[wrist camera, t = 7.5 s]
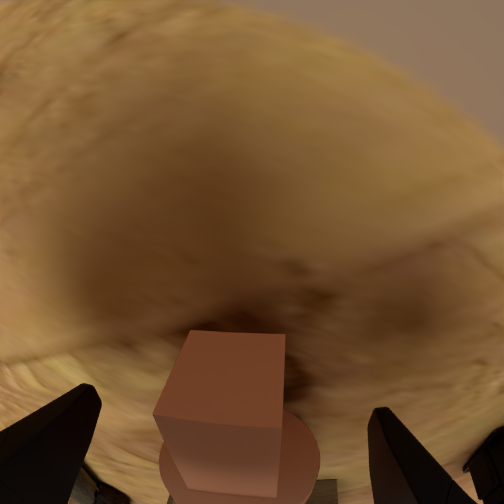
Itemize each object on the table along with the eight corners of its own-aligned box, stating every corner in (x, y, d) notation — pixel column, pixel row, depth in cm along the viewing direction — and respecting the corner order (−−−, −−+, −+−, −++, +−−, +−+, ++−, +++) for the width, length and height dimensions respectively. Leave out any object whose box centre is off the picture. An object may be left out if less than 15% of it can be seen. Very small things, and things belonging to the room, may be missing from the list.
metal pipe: (40, 427, 21) (16, 464, 16) (89, 446, 20) (66, 491, 15) (105, 499, 27) (93, 527, 22) (147, 512, 26) (137, 544, 21)
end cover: (329, 312, 11) (355, 470, 5) (299, 484, 16) (296, 561, 10) (160, 307, 11) (80, 435, 6) (209, 479, 17) (191, 552, 11)
